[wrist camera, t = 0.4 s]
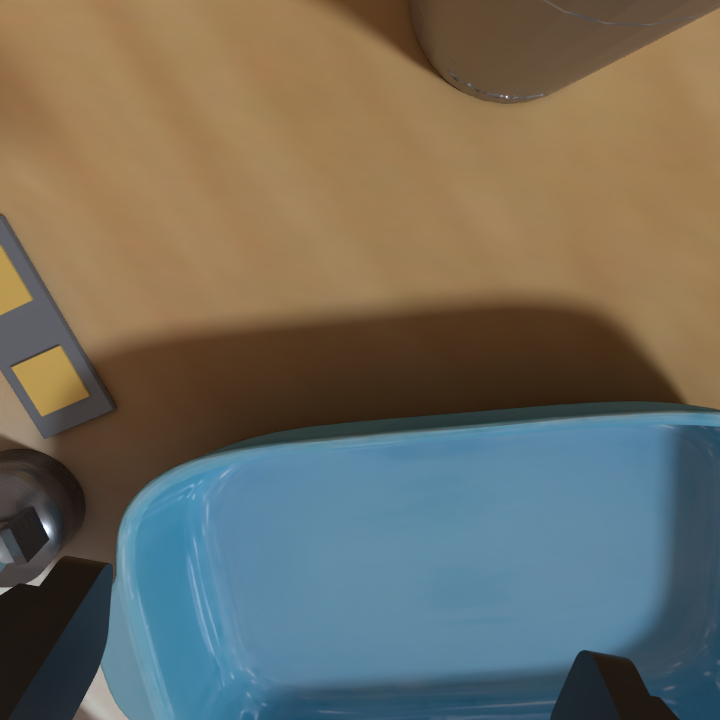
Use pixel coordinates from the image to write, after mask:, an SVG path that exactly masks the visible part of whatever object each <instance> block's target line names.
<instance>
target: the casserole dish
mask: <svg viewBox="0 0 720 720" xmlns="http://www.w3.org/2000/svg"><path fill="white" fill-rule="evenodd" d="M582 650H588V651H594V652H599V653H605V654H611V655H616V656H622V657H626V658H629V659H630V660H631V661H632V662H633V663H634V665H635V667H636V668H637V670H638V672H639V674H640V676H641V678H642V680H643V682H644V684H645V686H646V688H647V690H648V692H649V694H650V695H651V696H656V697H660V698H661V699H662V700H663V701H664V702H665V704H666V705H667V706H668V707H669V708H670V709H671V710H672V712H673V713H674V714H675V715H676V716H677V717H678V718H679V719H680V720H720V410H718V409H713V408H707V407H700V406H693V405H686V404H678V403H664V402H644V401H619V402H594V403H577V404H561V405H547V406H536V407H524V408H512V409H500V410H489V411H477V412H465V413H453V414H442V415H429V416H417V417H405V418H393V419H381V420H369V421H358V422H348V423H339V424H329V425H320V426H312V427H305V428H298V429H290V430H285V431H280V432H275V433H270V434H266V435H262V436H258V437H254V438H251V439H247V440H244V441H240V442H237V443H233V444H230V445H228V446H225V447H222V448H220V449H217V450H215V451H213V452H210V453H208V454H205V455H203V456H201V457H198V458H195V459H192V460H190V461H187V462H184V463H182V464H179V465H177V466H175V467H173V468H170V469H168V470H167V471H165V472H163V473H161V474H160V475H158V476H157V477H155V478H154V479H153V480H151V481H150V482H149V483H148V484H146V485H145V486H144V487H143V488H142V489H141V490H140V491H139V492H138V493H137V494H136V495H135V496H134V498H133V499H132V500H131V502H130V503H129V505H128V506H127V508H126V509H125V512H124V514H123V517H122V519H121V522H120V525H119V530H118V536H117V543H116V574H115V578H114V581H113V582H112V592H111V605H110V618H109V631H108V638H107V643H106V647H105V651H104V654H103V657H102V660H101V663H100V665H101V668H102V671H103V673H104V676H105V679H106V682H107V685H108V688H109V690H110V692H111V694H112V696H113V698H114V700H115V702H116V704H117V705H118V707H119V708H120V710H121V711H122V712H123V713H124V715H125V716H126V717H127V718H128V719H130V720H550V717H551V713H552V710H553V708H554V706H555V703H556V701H557V699H558V697H559V694H560V692H561V690H562V687H563V685H564V683H565V681H566V678H567V676H568V674H569V671H570V669H571V667H572V665H573V662H574V660H575V658H576V656H577V654H578V653H579V652H580V651H582Z"/></svg>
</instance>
